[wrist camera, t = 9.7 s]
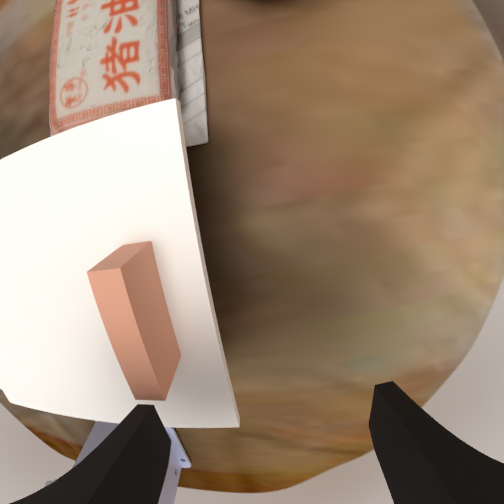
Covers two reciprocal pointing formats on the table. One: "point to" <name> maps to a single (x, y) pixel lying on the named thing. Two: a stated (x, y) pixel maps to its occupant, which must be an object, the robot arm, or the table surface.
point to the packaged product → (126, 61)
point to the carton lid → (109, 277)
